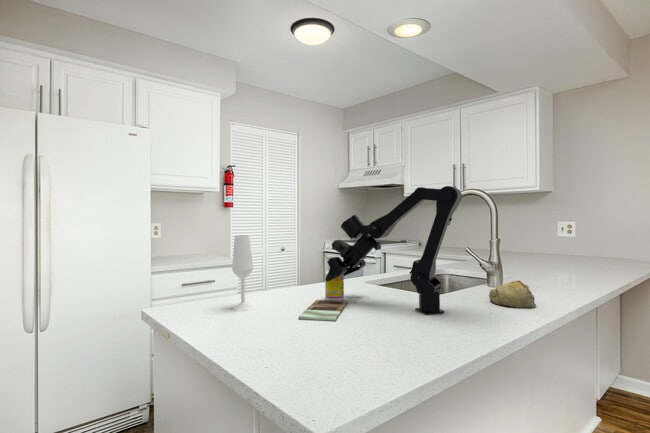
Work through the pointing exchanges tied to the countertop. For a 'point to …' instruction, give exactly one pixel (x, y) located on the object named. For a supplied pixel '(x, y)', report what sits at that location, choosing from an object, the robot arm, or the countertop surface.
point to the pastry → (513, 295)
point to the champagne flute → (242, 266)
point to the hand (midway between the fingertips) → (333, 278)
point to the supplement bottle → (334, 288)
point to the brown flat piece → (324, 310)
